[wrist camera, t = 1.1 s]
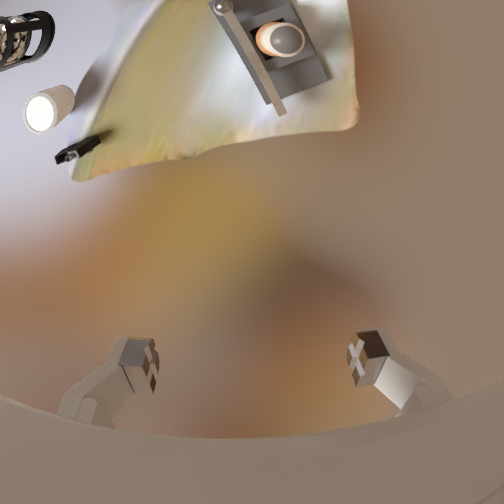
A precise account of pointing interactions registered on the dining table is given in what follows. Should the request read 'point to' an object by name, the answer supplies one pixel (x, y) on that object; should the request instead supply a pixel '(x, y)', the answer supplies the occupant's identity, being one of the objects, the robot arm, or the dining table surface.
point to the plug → (280, 39)
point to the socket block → (278, 68)
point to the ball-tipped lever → (250, 54)
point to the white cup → (47, 109)
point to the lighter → (77, 149)
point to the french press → (23, 38)
